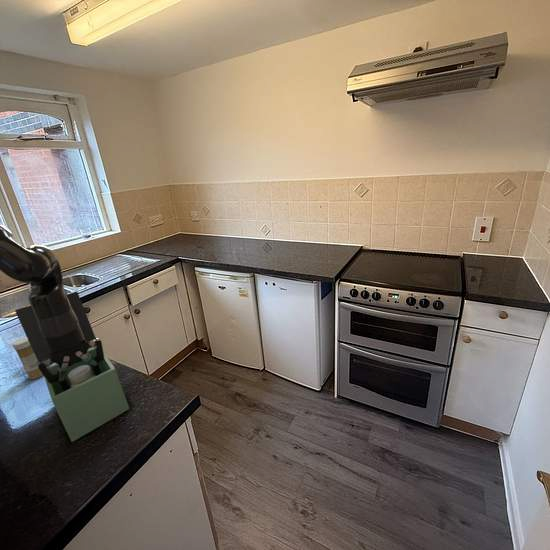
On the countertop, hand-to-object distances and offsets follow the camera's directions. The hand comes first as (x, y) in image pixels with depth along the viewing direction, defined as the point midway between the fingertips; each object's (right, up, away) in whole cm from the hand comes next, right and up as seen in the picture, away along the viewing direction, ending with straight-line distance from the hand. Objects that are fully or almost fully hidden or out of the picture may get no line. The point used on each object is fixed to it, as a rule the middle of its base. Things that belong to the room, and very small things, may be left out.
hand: (83, 382), depth 78 cm
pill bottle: (+1, -7, +3) cm, 8 cm away
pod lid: (-7, +14, +1) cm, 16 cm away
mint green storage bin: (+1, -8, +3) cm, 9 cm away
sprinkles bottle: (-28, -5, +20) cm, 34 cm away
